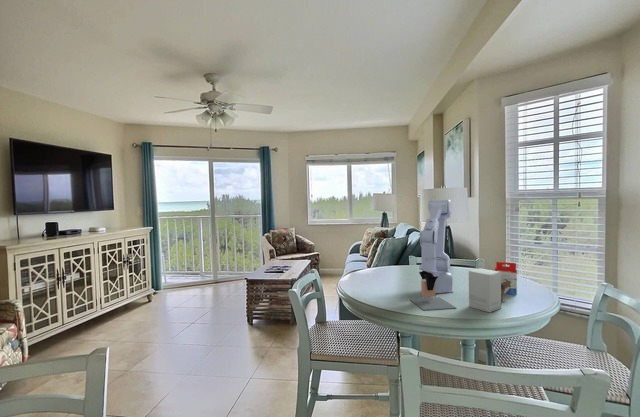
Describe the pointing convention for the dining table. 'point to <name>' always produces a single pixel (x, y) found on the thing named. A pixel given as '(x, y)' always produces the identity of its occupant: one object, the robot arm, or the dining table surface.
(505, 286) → the dinosaur figurine
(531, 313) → the dining table surface
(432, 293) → the slab
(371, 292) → the dining table surface
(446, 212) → the robot arm
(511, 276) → the ink box
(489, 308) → the supplement box
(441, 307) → the mat
